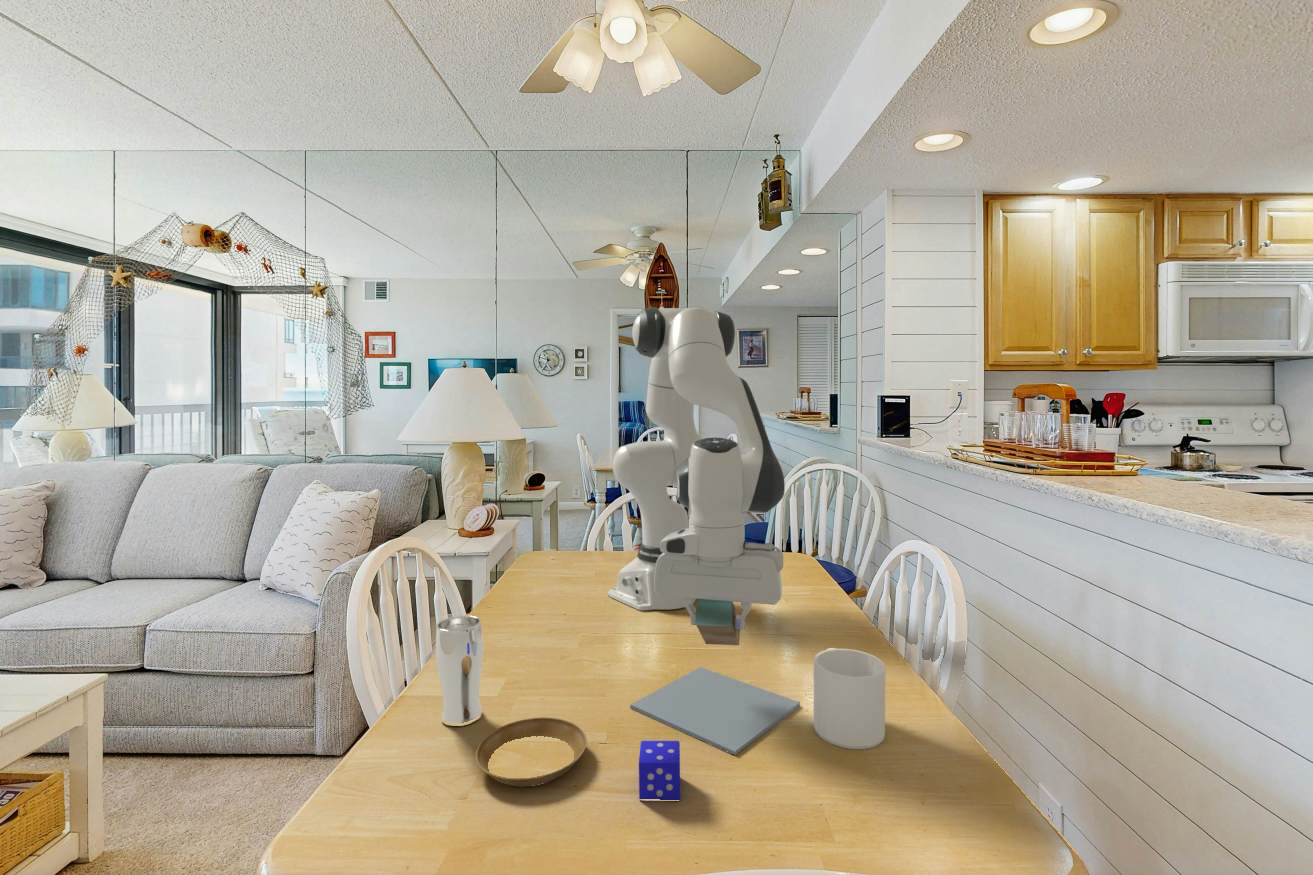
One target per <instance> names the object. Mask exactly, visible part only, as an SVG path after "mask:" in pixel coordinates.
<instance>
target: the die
mask: <svg viewBox="0 0 1313 875" xmlns="http://www.w3.org/2000/svg"><path fill="white" fill-rule="evenodd" d="M680 744H681V743H680V741H679V740H641V741H640V745H639V746H640V748H639V758H638V790H639V791H638V792H639V794H638V800H639V799H660V800H680V801H681V754H680V753H681V751H680V749H681V748H680V746H681V745H680Z"/></svg>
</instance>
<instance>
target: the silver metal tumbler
mask: <svg viewBox="0 0 1313 875" xmlns="http://www.w3.org/2000/svg"><path fill="white" fill-rule="evenodd" d="M435 627H436V631H435V633H436V635H435V661H436V666H437V672H438V676H439V677H438V678H439V682H440V685H441V691H442V699H443V700H442V701H443V702H442V712H441V716H442V719H443V720H444V721H446V722H450V723H464V722H468V721H470V720H473V719H475V718H477V717H478V716H479V715H480V714H481V713H482V714H483V708H482V704H481V700H480V681H481V676H482V668H483V660H484V640H483V630H482V629H483V628H482V620H481V618H480V617H477V616H476V615H475V616H474V615H456V616H455V615H454V616H452V617H447V618H444V619H442V620H440V621H439V622H437V624H436V626H435Z"/></svg>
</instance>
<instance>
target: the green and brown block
mask: <svg viewBox="0 0 1313 875" xmlns="http://www.w3.org/2000/svg"><path fill="white" fill-rule="evenodd" d="M696 600H697V601H696V602H697V604H696V607H695V609H696V617H695V624H696V625H695V626H696V627H697V630H698V632H699V634H700V635H701V638H702V640H703V641H704V643H705V645H719V646H721V645H722V646H740V638H741V629H734V625H735V623H734V618H735V616H736V615H739V614H738V612H737V609H736V607H735V604H734V602H731V601H718V600H705V599H696Z"/></svg>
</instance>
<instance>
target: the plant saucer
mask: <svg viewBox="0 0 1313 875" xmlns="http://www.w3.org/2000/svg"><path fill="white" fill-rule="evenodd" d="M531 736H536V737H537V736H544V737H546V736H547V737H552V738H557V739H560V740H561V741H565V742H566V743H568V745H569V746H570V747H571V748H572V749H573V751H574V760H573V762H571V763H570V764H569V765H567V766H565V767H563V768H562V769H559V770H557V771H555V772H552V773H549V774H546V775H542V776H537V777H531V778H506V777H501V776H497V775H494V774H492V773H490V772H489V769H488V762H489V759H490V758H491V755H492V754H493V753H494V751H495V750H496V749H498V748H499V747H500V746H502V745H503V744H504V743H507V742H508V741H509V742H510V741H512V740H515V739H521V738H524V737H531ZM587 739H588V738H587V735H586V733H585V732H584V730H583V729H582V728H581V727H580V726H578V725H577V724H576V723H574V722H572V721H568V720H565V719H563V718H558V717H547V716H546V717H544V716H541V717H530V718H524V719H521V720H515V721H513V722H509V723H507V724H504V725H502V726H500V727H498V728H496V729H494V730H492V731H491V732H490V733H488V734H487V735H486V736H485V737H484V738H483V739H482V740H481V741H480V742H479V743H478V746H477V748H476V751H475V762H476V764H477V765H478V767H479V768H480V769H481V770H482V771H483V772H484V773H485V774H486V775H488V776H489V777H490V778H492V779H493V780H495V781H496V782H499V783H501V784H503V783H504V784H503V785H505V784H507V785H506V786H509V785H512V786H511V787H514V786H532V785H538V784H542V783H545V784H547V783H546V782H548V783H550V782H549V781H551V780H553V781H555V780H557V779H558V777H559V776H560V777H562V776H563V775H564V774H566V773H565V772H568V771H569V770H570V769H571V768H572V767H574V765H575V764H576V763H577V761H579V759H580V758H581V757H582V755H583V754H584V752H585V749H586V747H587V743H588V740H587ZM561 775H562V776H561ZM560 777H559V778H560ZM556 778H557V779H556ZM554 779H555V780H554ZM551 782H552V781H551ZM542 785H543V784H542ZM538 786H539V785H538Z"/></svg>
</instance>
